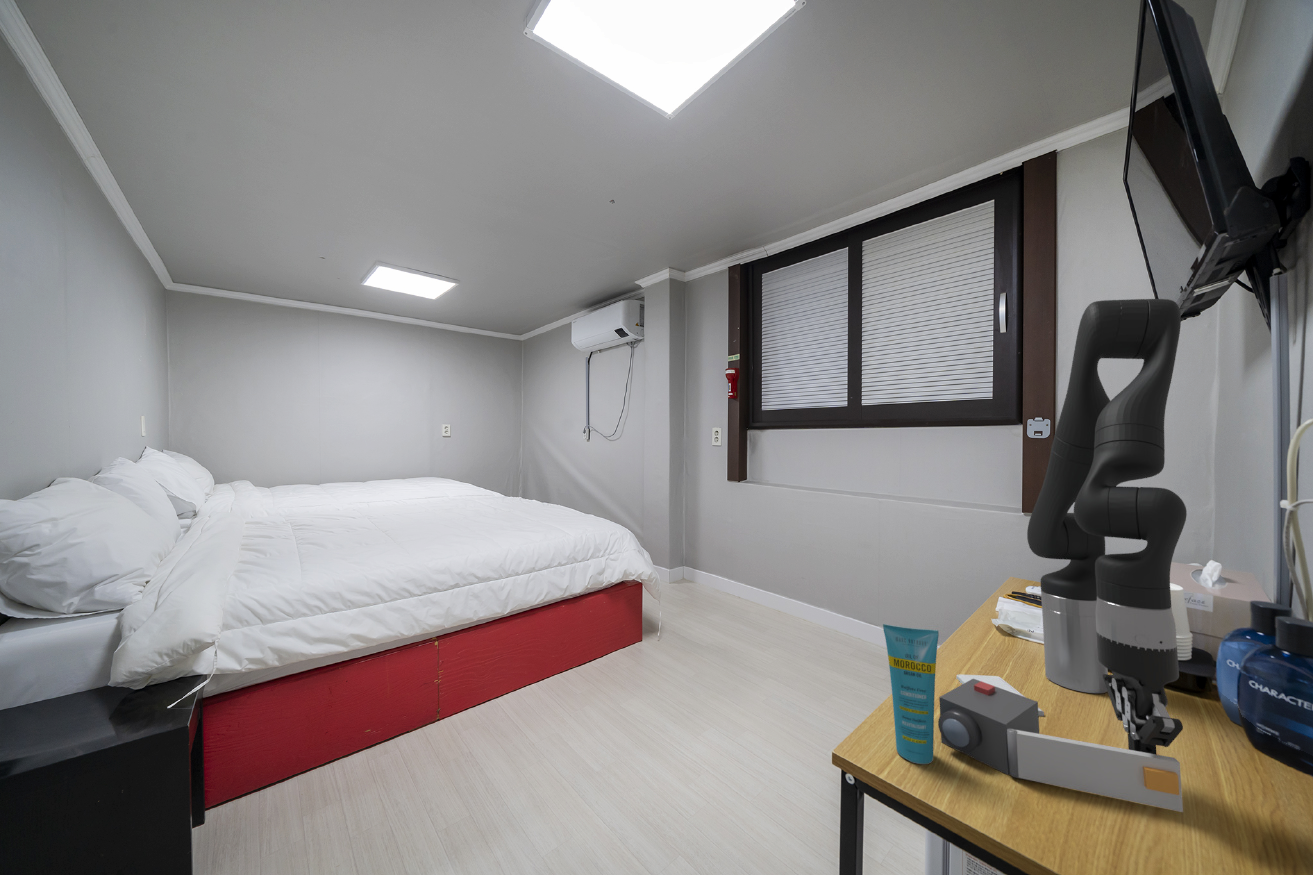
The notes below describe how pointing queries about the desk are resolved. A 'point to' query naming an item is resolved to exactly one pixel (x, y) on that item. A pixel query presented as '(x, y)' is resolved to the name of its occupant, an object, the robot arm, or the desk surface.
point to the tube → (913, 689)
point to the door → (1096, 769)
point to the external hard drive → (995, 682)
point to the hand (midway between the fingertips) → (1143, 765)
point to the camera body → (985, 721)
